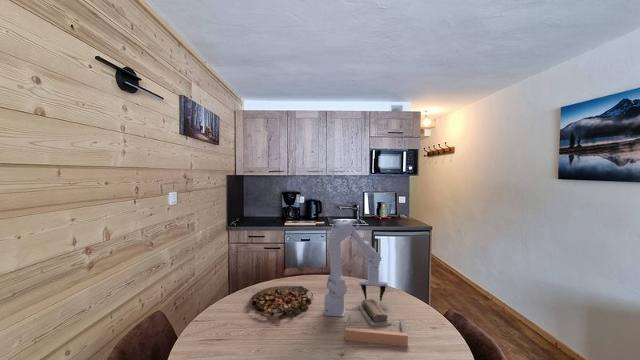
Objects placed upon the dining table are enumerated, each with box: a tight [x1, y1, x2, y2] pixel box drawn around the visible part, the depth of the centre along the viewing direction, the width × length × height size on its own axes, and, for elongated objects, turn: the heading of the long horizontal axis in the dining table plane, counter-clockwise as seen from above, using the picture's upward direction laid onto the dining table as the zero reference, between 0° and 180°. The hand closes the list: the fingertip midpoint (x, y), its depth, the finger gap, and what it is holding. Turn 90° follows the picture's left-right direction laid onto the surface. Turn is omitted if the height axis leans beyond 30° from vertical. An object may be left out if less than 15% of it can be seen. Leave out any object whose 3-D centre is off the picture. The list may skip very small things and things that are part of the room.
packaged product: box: [358, 299, 393, 327], centre depth 128 cm, size 18×5×10 cm
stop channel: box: [344, 314, 409, 347], centre depth 115 cm, size 24×16×4 cm, turn 80°
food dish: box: [248, 285, 314, 321], centre depth 141 cm, size 35×33×8 cm
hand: (373, 299), depth 142 cm, fingers open, 7 cm apart
